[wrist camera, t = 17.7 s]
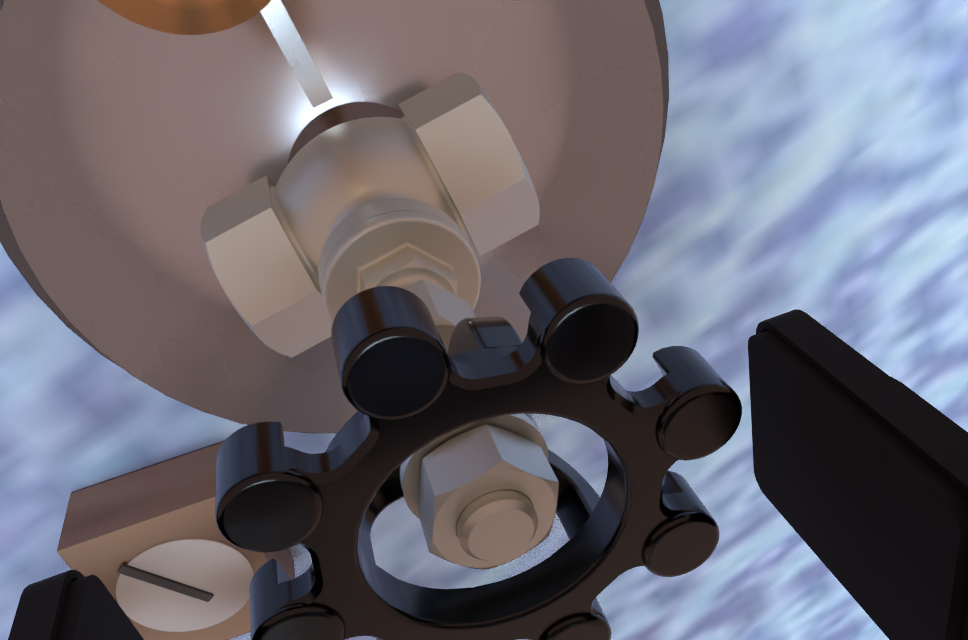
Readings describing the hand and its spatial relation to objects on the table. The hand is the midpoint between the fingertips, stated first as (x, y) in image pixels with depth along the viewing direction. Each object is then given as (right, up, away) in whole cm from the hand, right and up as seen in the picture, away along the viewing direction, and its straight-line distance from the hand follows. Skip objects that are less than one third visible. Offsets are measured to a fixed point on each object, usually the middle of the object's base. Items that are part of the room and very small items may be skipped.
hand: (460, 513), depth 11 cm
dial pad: (-9, -4, +15) cm, 19 cm away
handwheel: (-3, +7, +9) cm, 12 cm away
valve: (-3, +6, +9) cm, 11 cm away
